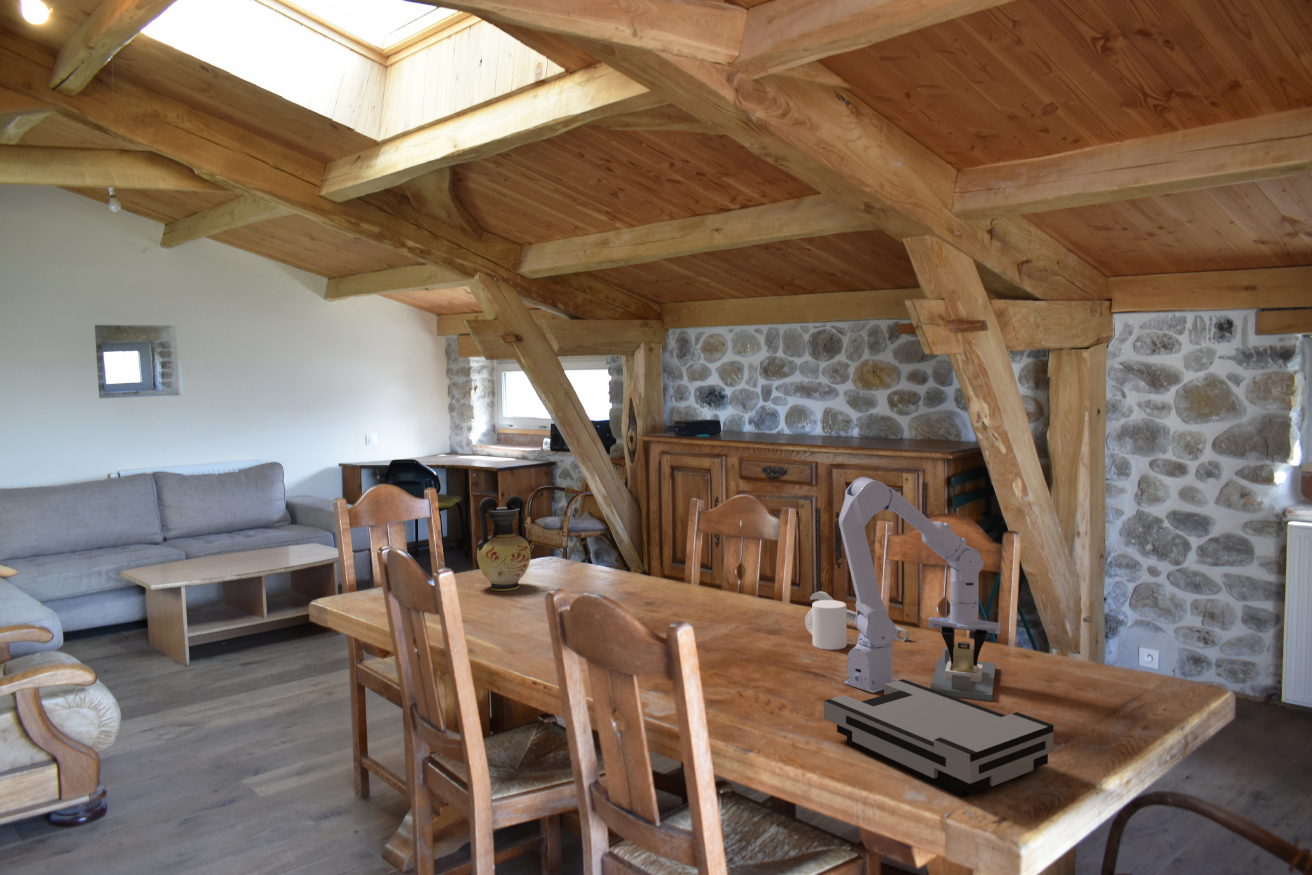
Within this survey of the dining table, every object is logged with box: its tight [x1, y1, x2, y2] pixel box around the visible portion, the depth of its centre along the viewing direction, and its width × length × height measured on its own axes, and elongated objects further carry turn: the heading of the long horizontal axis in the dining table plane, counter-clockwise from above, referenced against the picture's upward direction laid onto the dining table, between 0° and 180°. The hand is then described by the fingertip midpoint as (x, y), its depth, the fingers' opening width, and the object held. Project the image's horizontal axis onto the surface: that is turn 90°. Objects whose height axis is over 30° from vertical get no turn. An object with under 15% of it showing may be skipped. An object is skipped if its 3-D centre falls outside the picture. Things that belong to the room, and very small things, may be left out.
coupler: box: [953, 641, 974, 673], centre depth 188 cm, size 4×4×7 cm
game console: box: [823, 678, 1054, 799], centre depth 152 cm, size 21×32×8 cm, turn 32°
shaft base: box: [929, 647, 996, 702], centre depth 189 cm, size 22×12×4 cm, turn 157°
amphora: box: [476, 494, 531, 592], centre depth 284 cm, size 18×17×30 cm
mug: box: [804, 599, 848, 651], centre depth 218 cm, size 8×10×12 cm
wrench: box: [809, 590, 910, 642], centre depth 230 cm, size 8×2×30 cm
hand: (963, 663), depth 189 cm, fingers closed on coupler, 4 cm apart
